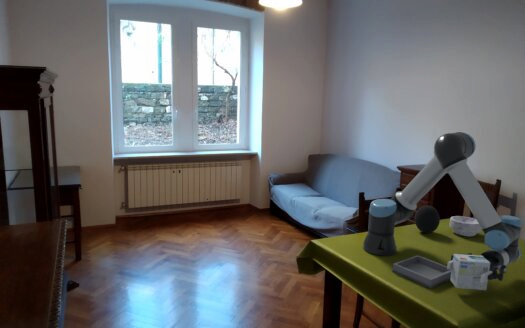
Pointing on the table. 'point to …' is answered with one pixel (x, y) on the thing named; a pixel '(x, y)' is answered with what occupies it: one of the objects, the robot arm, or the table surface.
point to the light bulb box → (469, 271)
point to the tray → (422, 271)
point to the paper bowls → (464, 226)
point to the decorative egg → (427, 219)
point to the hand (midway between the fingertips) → (464, 272)
